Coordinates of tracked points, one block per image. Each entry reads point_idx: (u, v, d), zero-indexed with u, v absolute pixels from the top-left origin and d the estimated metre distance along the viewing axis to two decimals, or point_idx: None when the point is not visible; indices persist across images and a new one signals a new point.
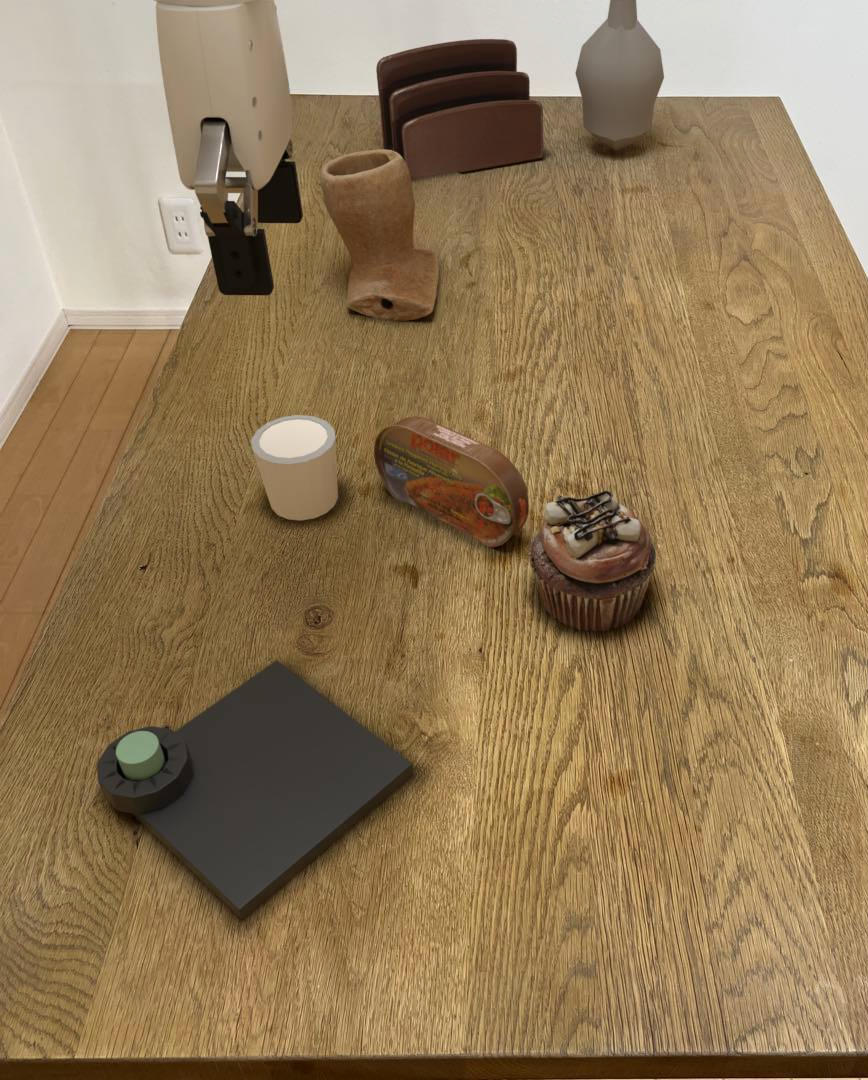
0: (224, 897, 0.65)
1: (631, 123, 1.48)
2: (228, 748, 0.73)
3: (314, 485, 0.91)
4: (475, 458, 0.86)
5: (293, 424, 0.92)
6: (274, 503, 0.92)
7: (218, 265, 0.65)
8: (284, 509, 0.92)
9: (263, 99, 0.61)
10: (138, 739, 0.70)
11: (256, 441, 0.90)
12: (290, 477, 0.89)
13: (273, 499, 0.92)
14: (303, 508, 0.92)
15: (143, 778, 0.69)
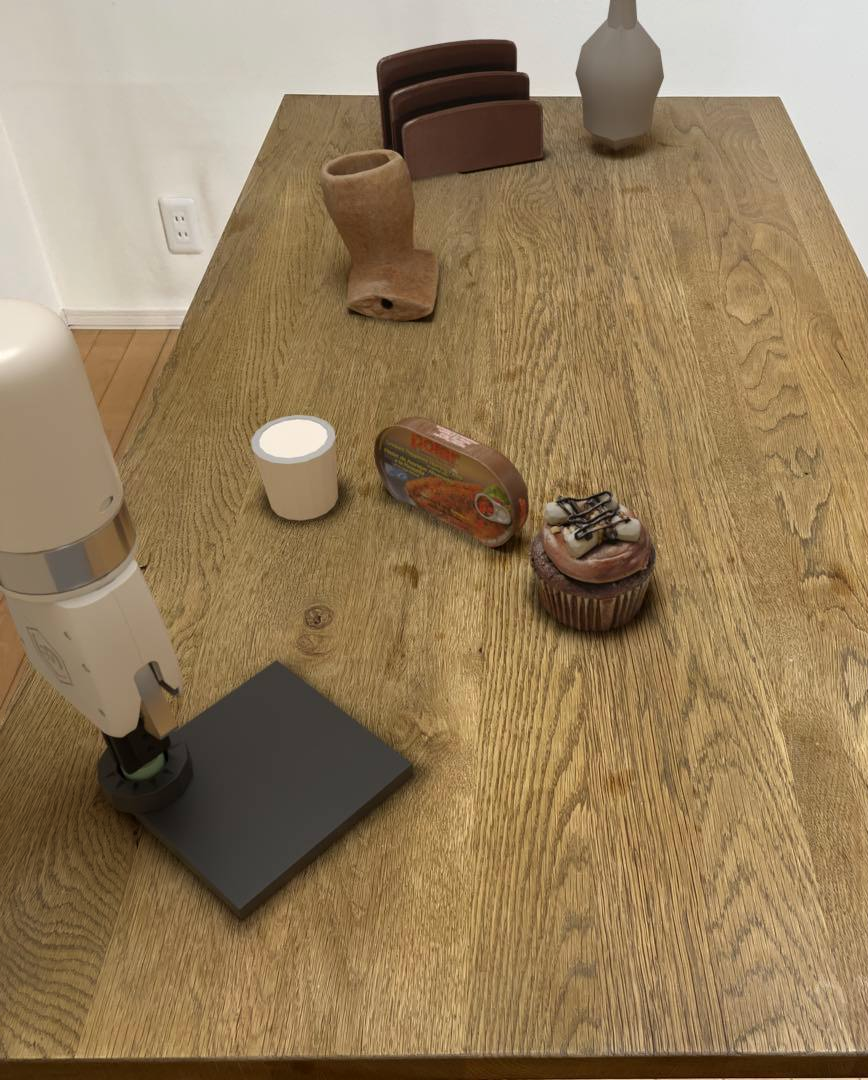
0: (224, 897, 0.65)
1: (631, 123, 1.48)
2: (228, 748, 0.73)
3: (314, 485, 0.91)
4: (476, 458, 0.86)
5: (293, 424, 0.92)
6: (274, 503, 0.92)
7: (124, 754, 0.67)
8: (284, 509, 0.92)
9: None
10: None
11: (256, 441, 0.90)
12: (290, 477, 0.89)
13: (273, 499, 0.92)
14: (303, 508, 0.92)
15: None
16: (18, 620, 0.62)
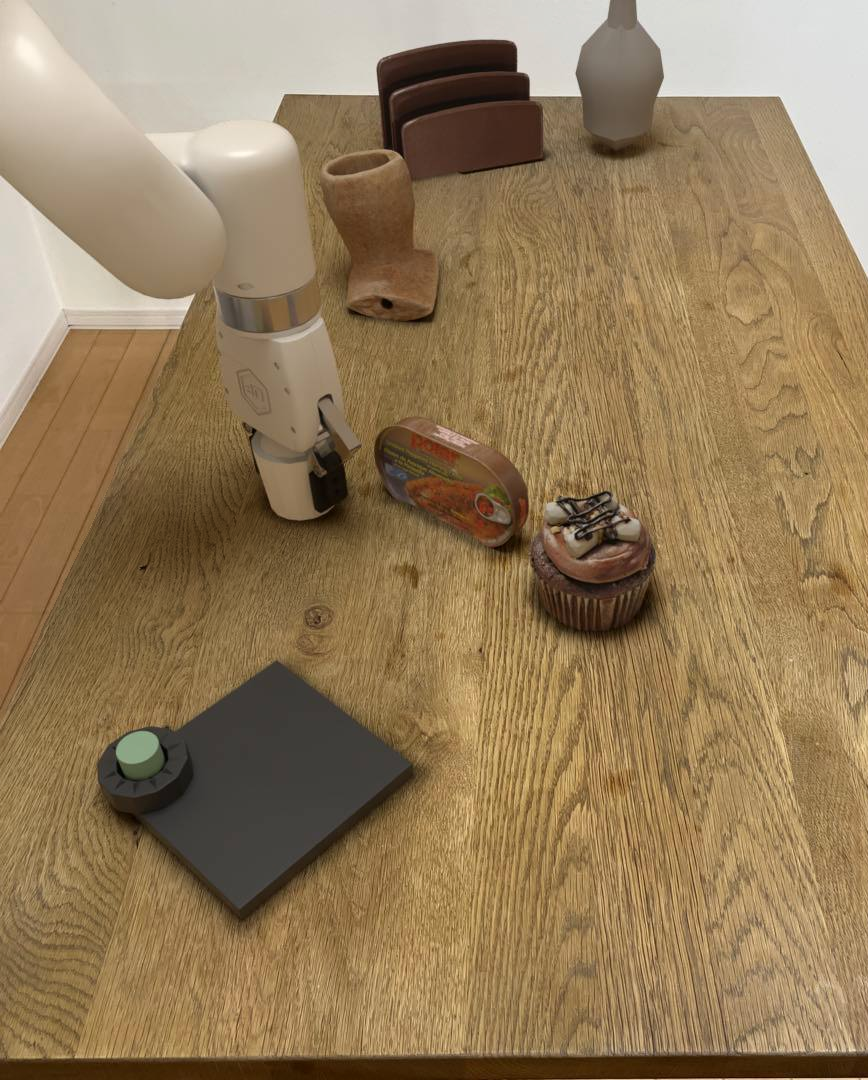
0: (224, 897, 0.65)
1: (631, 123, 1.48)
2: (228, 748, 0.73)
3: None
4: (476, 457, 0.86)
5: None
6: (274, 503, 0.92)
7: (318, 494, 0.90)
8: (284, 509, 0.92)
9: None
10: (138, 739, 0.70)
11: (256, 441, 0.90)
12: (290, 477, 0.89)
13: (273, 499, 0.92)
14: (303, 508, 0.92)
15: (143, 778, 0.69)
16: (229, 369, 0.86)
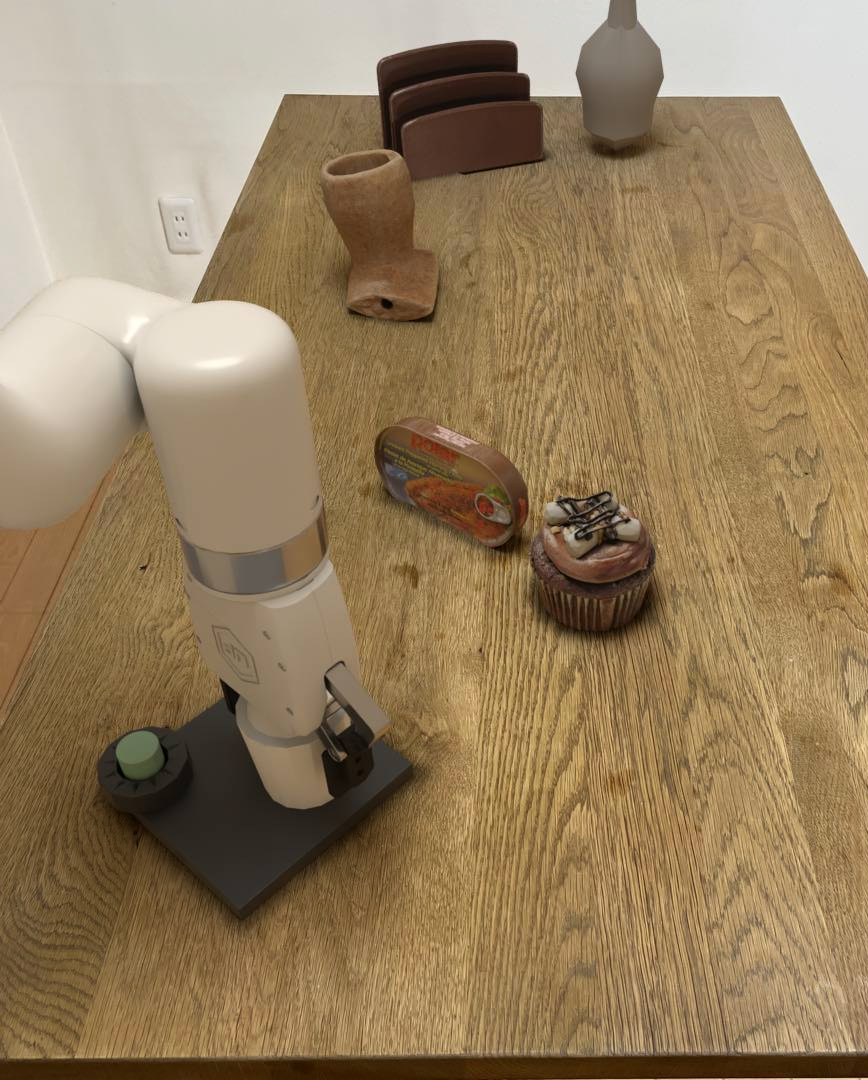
0: (224, 897, 0.65)
1: (631, 123, 1.48)
2: (228, 748, 0.73)
3: (320, 766, 0.67)
4: (476, 457, 0.86)
5: None
6: (267, 783, 0.69)
7: (334, 778, 0.65)
8: (280, 792, 0.69)
9: None
10: (138, 739, 0.70)
11: (242, 708, 0.67)
12: (288, 761, 0.66)
13: (265, 779, 0.68)
14: (306, 792, 0.68)
15: (143, 778, 0.69)
16: (201, 619, 0.62)
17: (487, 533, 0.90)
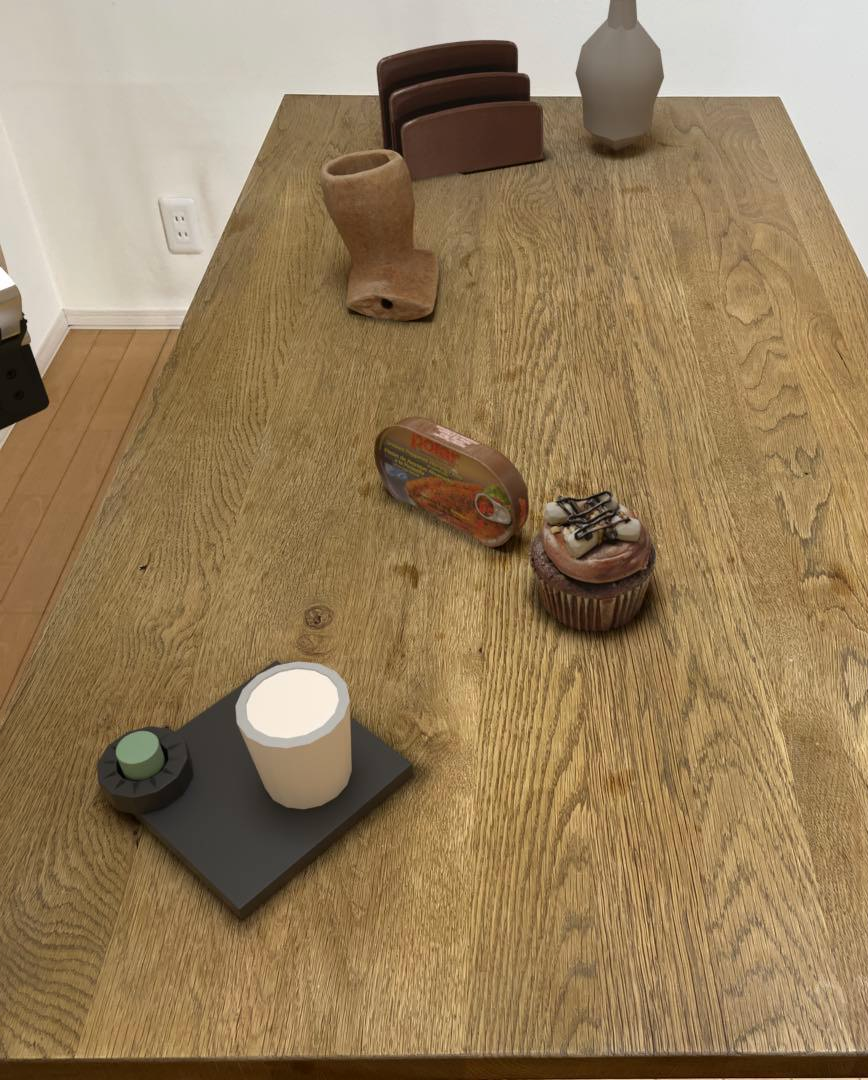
0: (224, 897, 0.65)
1: (631, 123, 1.48)
2: (228, 748, 0.73)
3: (320, 766, 0.67)
4: (476, 457, 0.86)
5: (292, 678, 0.69)
6: (267, 783, 0.69)
7: None
8: (280, 792, 0.69)
9: None
10: (138, 739, 0.70)
11: (242, 708, 0.67)
12: (288, 761, 0.66)
13: (265, 780, 0.68)
14: (306, 792, 0.68)
15: (143, 778, 0.69)
16: None
17: (487, 533, 0.90)
